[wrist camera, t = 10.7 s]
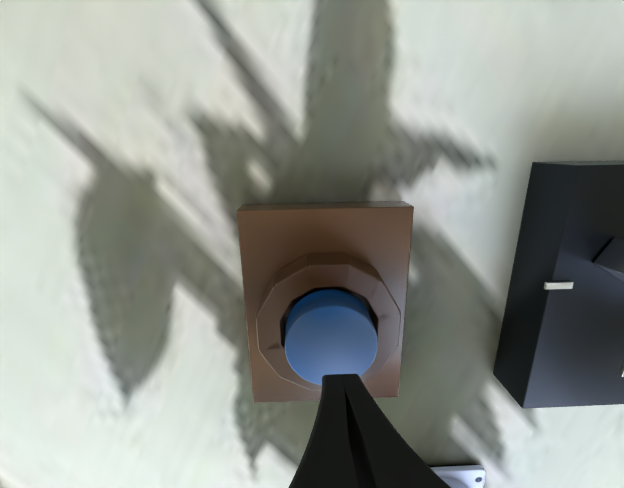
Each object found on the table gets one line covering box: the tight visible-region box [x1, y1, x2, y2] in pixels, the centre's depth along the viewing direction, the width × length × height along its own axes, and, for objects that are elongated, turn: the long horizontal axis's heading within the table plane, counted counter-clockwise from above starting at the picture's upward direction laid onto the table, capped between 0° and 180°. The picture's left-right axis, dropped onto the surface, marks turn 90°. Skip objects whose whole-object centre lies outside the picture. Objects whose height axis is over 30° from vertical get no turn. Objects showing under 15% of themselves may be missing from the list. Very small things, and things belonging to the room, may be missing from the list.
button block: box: [237, 201, 414, 403], centre depth 18 cm, size 12×9×4 cm
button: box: [285, 289, 378, 385], centre depth 16 cm, size 4×4×2 cm
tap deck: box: [493, 161, 624, 408], centre depth 18 cm, size 14×12×3 cm
